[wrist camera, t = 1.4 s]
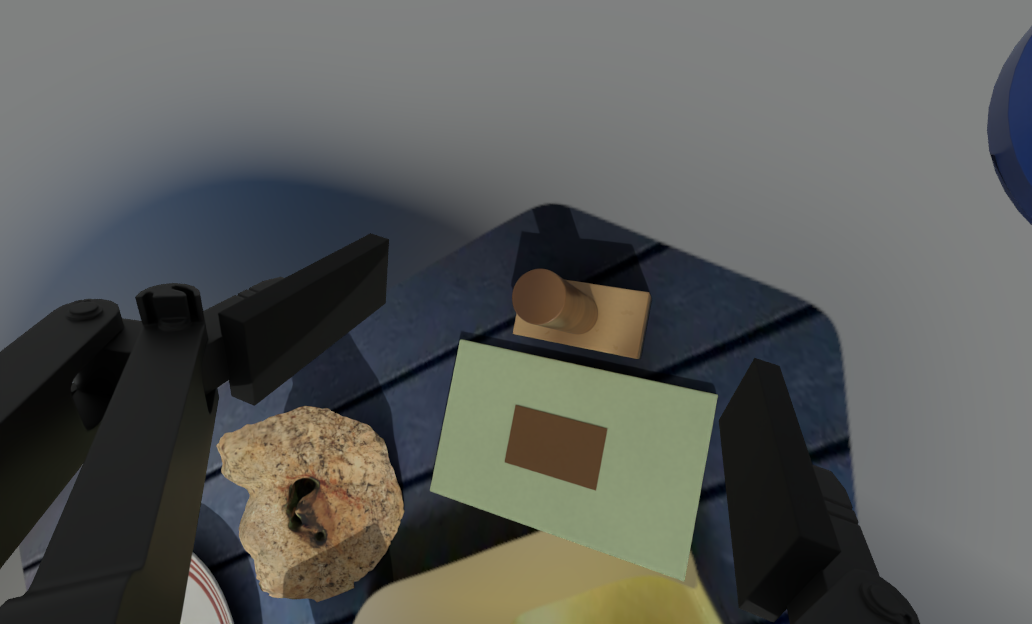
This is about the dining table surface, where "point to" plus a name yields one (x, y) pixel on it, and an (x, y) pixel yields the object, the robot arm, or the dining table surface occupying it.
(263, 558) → the pitted speckled stone
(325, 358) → the dining table surface
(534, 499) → the mat
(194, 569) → the dinner plate
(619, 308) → the stamp
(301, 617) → the dining table surface
